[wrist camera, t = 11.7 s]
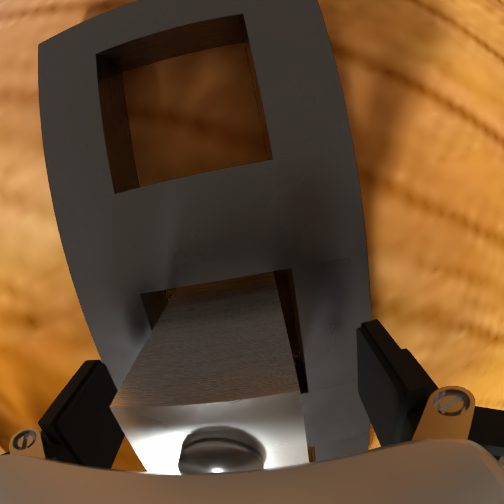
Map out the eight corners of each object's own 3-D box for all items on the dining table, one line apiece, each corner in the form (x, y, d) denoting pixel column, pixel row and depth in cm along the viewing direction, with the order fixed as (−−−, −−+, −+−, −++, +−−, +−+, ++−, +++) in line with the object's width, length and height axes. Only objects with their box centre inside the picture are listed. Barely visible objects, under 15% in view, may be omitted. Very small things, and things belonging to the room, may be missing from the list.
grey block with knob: (272, 268, 15) (301, 399, 6) (285, 349, 16) (313, 500, 7) (179, 283, 15) (105, 414, 6) (201, 361, 16) (168, 509, 7)
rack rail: (297, 3, 12) (307, -29, 9) (353, 470, 19) (361, 499, 16) (68, 60, 12) (38, 44, 9) (198, 490, 19) (194, 519, 16)
